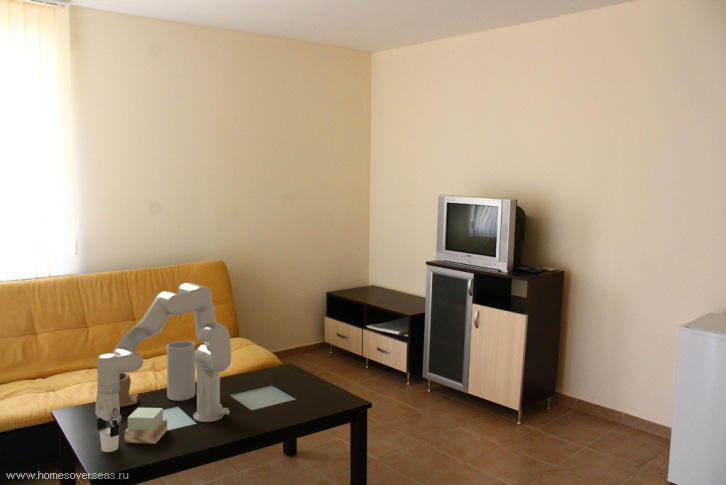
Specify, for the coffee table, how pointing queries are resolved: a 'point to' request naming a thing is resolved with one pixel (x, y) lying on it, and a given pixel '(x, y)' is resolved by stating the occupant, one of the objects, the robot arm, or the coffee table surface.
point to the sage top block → (145, 419)
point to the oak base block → (146, 434)
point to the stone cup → (125, 391)
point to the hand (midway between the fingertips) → (108, 432)
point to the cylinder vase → (180, 370)
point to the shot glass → (108, 441)
